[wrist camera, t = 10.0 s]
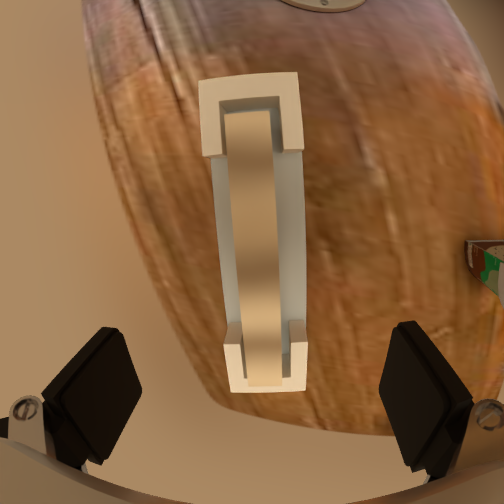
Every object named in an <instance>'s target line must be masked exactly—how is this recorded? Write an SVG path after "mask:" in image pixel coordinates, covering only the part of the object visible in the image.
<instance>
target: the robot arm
mask: <svg viewBox="0 0 504 504" xmlns="http://www.w3.org/2000/svg"><path fill="white" fill-rule="evenodd" d="M281 1H283V2H286V3H288V4H290V5H293V6H296V7H300V8H303V9H307V10H312V11H319V12H342V11H348V10H351V9H354V8H357V7H358V6H360V5H362V4H363V3H364V2H365V1H366V0H281ZM41 394H42V396H43V398H44V399H45V401H44V402H43V403H42V402H41V400H40V399H39V398H38V397H36V396H31V395H30V396H24V397H21V398H20V399H18V400H16V401H15V402H14V404H13V405H12V406H11V408H10V412H9V417H6V418H2V419H0V504H191V503H185V502H180V501H174V500H170V499H165V498H161V497H157V496H153V495H149V494H145V493H141V492H138V491H134V490H131V489H128V488H124V487H121V486H118V485H115V484H113V483H109V482H107V481H104V480H101V479H98V478H96V477H94V476H91V475H89V474H88V471H87V468H86V464H85V461H86V460H87V459H88V460H89V461H90V462H93V463H95V464H98V465H102V464H103V461H104V460H106V459H108V458H109V456H110V454H111V452H112V450H113V448H114V446H115V444H116V442H117V441H118V438H119V436H120V435H121V433H122V431H123V429H124V427H125V425H126V423H127V421H128V419H129V417H130V415H131V414H132V412H133V410H134V408H135V406H136V404H137V402H138V400H139V399H140V397H141V394H142V387H141V384H140V382H139V379H138V376H137V374H136V371H135V369H134V365H133V363H132V360H131V357H130V354H129V352H128V348H127V345H126V342H125V339H124V336H123V334H122V333H121V332H119V330H118V329H117V328H110V327H102V328H101V329H100V330H99V331H98V332H97V333H96V334H95V335H94V336H93V337H92V338H91V339H90V340H89V341H88V342H87V343H86V344H85V346H83V347H82V349H81V350H80V351H79V352H78V353H77V354H76V355H75V356H74V357H73V358H72V359H71V360H70V361H69V363H68V364H67V365H66V366H65V367H64V368H63V369H62V370H61V371H60V373H59V374H58V375H57V376H56V377H55V378H54V379H53V380H52V381H51V383H50V384H49V385H48V386H47V387H46V388H45V389H44V391H43V392H42V393H41ZM379 394H380V397H381V400H382V402H383V405H384V407H385V410H386V413H387V415H388V418H389V421H390V423H391V426H392V429H393V431H394V434H395V437H396V440H397V443H398V445H399V448H400V451H401V454H402V457H403V460H404V463H405V465H406V466H410V468H411V470H412V473H413V472H416V471H419V470H422V469H425V470H426V472H427V477H426V479H425V481H424V483H423V485H420V486H417V487H414V488H411V489H408V490H404V491H401V492H397V493H394V494H390V495H385V496H382V497H377V498H373V499H369V500H364V501H359V502H353V503H348V504H504V404H502V403H501V402H499V401H497V400H494V399H483V400H480V401H478V402H477V403H476V404H474V402H473V401H472V398H473V397H472V395H471V394H470V392H469V391H468V389H467V388H466V387H465V385H464V384H463V382H462V381H461V380H460V378H459V377H458V375H457V374H456V373H455V371H454V370H453V369H452V367H451V366H450V364H449V363H448V362H447V360H446V359H445V358H444V356H443V355H442V354H441V353H440V351H439V350H438V349H437V347H436V346H435V345H434V343H433V342H432V341H431V340H430V338H429V337H428V336H427V335H426V333H425V332H424V331H423V330H422V328H421V327H420V326H419V325H418V324H417V322H416V321H407V322H400V323H398V325H397V327H395V328H393V331H392V335H391V340H390V344H389V349H388V353H387V357H386V362H385V366H384V369H383V373H382V377H381V381H380V384H379Z"/></svg>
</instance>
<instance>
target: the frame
mask: <svg viewBox="0 0 504 504" xmlns="http://www.w3.org/2000/svg"><path fill="white" fill-rule="evenodd" d="M198 89H199V110H200V127H201V143H202V156H204V157H208V158H211V171H212V184H213V195H214V207H215V217H216V228H217V238H218V248H219V257H220V267H221V276H222V284H223V293H224V301H225V310H226V318H227V325H228V330H227V333H226V337H225V340H224V344H223V345H224V352H225V358H226V364H227V371H228V377H229V383H230V389H231V392H290V391H305V390H306V372H307V351H308V340H307V335H306V226H305V200H304V179H303V163H302V150H303V149H304V137H303V125H302V114H301V103H300V94H299V84H298V76H297V72H277V73H259V74H246V75H236V76H227V77H220V78H212V79H206V80H199V81H198ZM255 111H269V113H270V125H271V138H272V152H273V166H274V182H275V198H276V215H277V234H278V255H279V279H280V307H281V344H282V386H260V387H248V378H247V369H246V360H245V350H244V341H243V331H242V321H241V312H240V301H239V291H238V281H237V270H236V259H235V248H234V237H233V225H232V213H231V201H230V188H229V176H228V162H227V149H226V135H225V120H224V114H233V113H243V112H255Z"/></svg>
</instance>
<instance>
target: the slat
mask: <svg viewBox="0 0 504 504" xmlns="http://www.w3.org/2000/svg"><path fill="white" fill-rule="evenodd" d="M224 120H225V135H226V149H227V162H228V176H229V188H230V201H231V213H232V225H233V237H234V248H235V259H236V270H237V281H238V291H239V301H240V312H241V321H242V331H243V341H244V350H245V360H246V369H247V378H248V387H260V386H282V344H281V307H280V279H279V255H278V234H277V215H276V198H275V182H274V166H273V152H272V138H271V125H270V113H269V111H255V112H243V113H233V114H224Z"/></svg>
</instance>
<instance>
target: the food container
mask: <svg viewBox="0 0 504 504" xmlns="http://www.w3.org/2000/svg"><path fill="white" fill-rule="evenodd" d="M465 258H466V263H467V266H468V268H469V271H470V272H471V273H472V274H473V275H474V276H475V277H476V278H477V279H479V280H480V281H481V282H482V283H483V284H485V285H486V286H487V287H488V288H489V289H490V290H492V291H493V292H494V293H495V294H496V295H497V296H499V298H500V302H501V304H502V306H503V308H504V240H465Z"/></svg>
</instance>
